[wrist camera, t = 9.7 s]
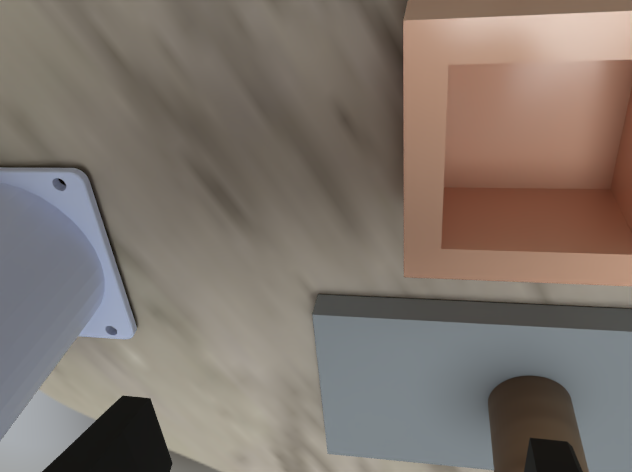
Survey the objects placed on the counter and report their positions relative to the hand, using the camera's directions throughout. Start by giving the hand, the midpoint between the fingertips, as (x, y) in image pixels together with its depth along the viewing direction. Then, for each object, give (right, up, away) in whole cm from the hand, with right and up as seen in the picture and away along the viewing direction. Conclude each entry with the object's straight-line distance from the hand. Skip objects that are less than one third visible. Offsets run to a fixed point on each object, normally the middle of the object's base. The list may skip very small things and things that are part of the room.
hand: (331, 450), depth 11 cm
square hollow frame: (+6, +8, +6) cm, 12 cm away
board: (+8, -2, +12) cm, 15 cm away
